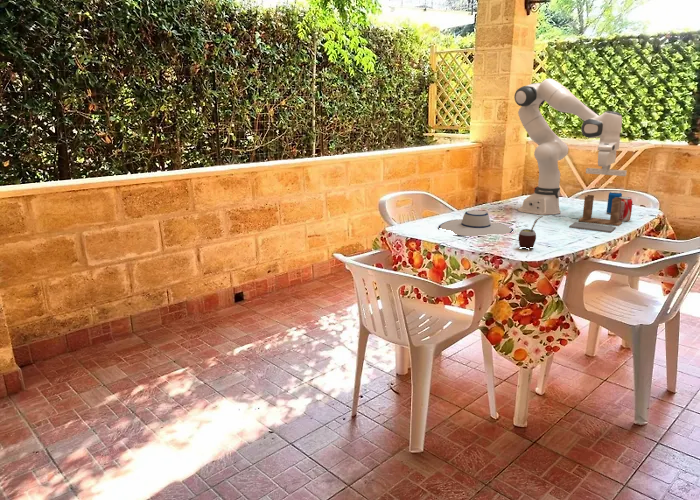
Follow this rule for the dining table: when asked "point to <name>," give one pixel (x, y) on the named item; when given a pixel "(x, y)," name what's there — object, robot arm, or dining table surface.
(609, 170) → the rail
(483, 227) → the sun hat
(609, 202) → the beverage can
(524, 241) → the mate gourd
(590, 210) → the rack
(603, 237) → the dining table surface
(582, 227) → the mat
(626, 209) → the soda can
